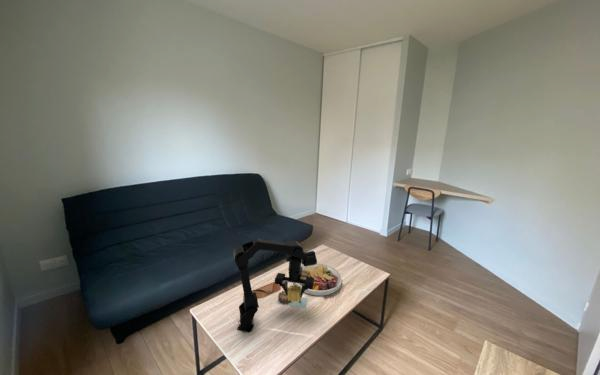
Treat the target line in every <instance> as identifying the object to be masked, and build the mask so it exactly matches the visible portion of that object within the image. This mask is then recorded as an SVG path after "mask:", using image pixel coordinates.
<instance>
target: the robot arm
mask: <svg viewBox="0 0 600 375" xmlns="http://www.w3.org/2000/svg"><path fill="white" fill-rule="evenodd" d="M259 251H265V252H266V251H267V252H277V253H284V254H286V256H285V257H284V258H285V261H286V262H288V276H286V273H282V272H278V273H276V276H275V277H274V282H275V284H279V286H280V287H281V289H283V290H282V291H285V293H286V295H287V289H288V287H289V284H288V283H292V284H294V283H302V284H303V285H302V289H301V298H303V295H304V294H305V293H304V291H305V290H308V289H313V286H314V278H312V277H306V279H301V277H302V268H303V267H301V265H304V266H311V265H316V264H317V263H318V258H317V256H316V251H314V250H310V251H304V249H303V247H302V246H301V244H300V243H299V242H298V241H297V240H287V241H277V240H270V239H268V240H267V239H262V238H258V237H256V238H253V240H251V241H247V242H245V243H243V244H241V245H239V246H236V247H235V248H234V249H233V260H234V263H235V265H236V268H237V270H239V275H240V281H241V286H242V291H243V296H242V297H243V298H242V299H243V301H242V302H241V303H240V304H239V306H238V309H239V310H238V311H239V324H238V327H237V328H236V329H237V331H241V332H246V333H251V332H252V330H253V328H254V326H255V324H254V323H253V322H254V321H253V320H254V318H255V315H256V313H257V312H258V310H259V307H260V304H259V301H258V299H257V296H256V292H254V293H252V291H253V290H252V284H251V279H250V275H249V268H248V267H249V260H250V259H252V258H253V257H254V256H255V255H256V254H257V253H258V252H259Z"/></svg>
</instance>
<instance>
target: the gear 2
mask: <svg viewBox="0 0 600 375" xmlns="http://www.w3.org/2000/svg"><path fill="white" fill-rule="evenodd" d="M287 298H288V300H289V301H290V300H291V302H295V301H296V302H299V300H301V287H300V286H297V285H295V284H294V285H292V284H291V285H289V286H288V289H287Z"/></svg>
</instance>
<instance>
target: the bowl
mask: <svg viewBox="0 0 600 375" xmlns="http://www.w3.org/2000/svg"><path fill="white" fill-rule="evenodd" d="M301 267H303V268H302V277H301V279H306V277H312V278H314V286H313V289H308V290H305V291H304V293H303V294H307V295H310V296H315V297H316V296H318V297H319V296H324V297H325V296H329V295H333V294H334V293H335V292H337V291H338V290H339V288H340V287H341V285H342V282H343V276H342V274H341V272H339V270H337V269H336V268H335V267H333V266H331V265H328V264H326V263H325V264H324V263H319V262H317V264H316V265H311V266H304V265H302V264H301ZM293 284H294V285H297V286H300V287H301V289H302V285H303V284H302V283H293Z"/></svg>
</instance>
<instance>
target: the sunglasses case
mask: <svg viewBox="0 0 600 375" xmlns="http://www.w3.org/2000/svg"><path fill="white" fill-rule="evenodd" d="M281 290H282V287H281V286H279V284H275V281H273V282H270V283H267V284H265V285H262V286H261V287H260V286H259V287H258V288H256V289H253V290H252V293H254V292H256V296H257V299H260V300H261V299H264V298H266V297H268V296H271V295H273V294H275V293H278V292H280V291H281Z"/></svg>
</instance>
